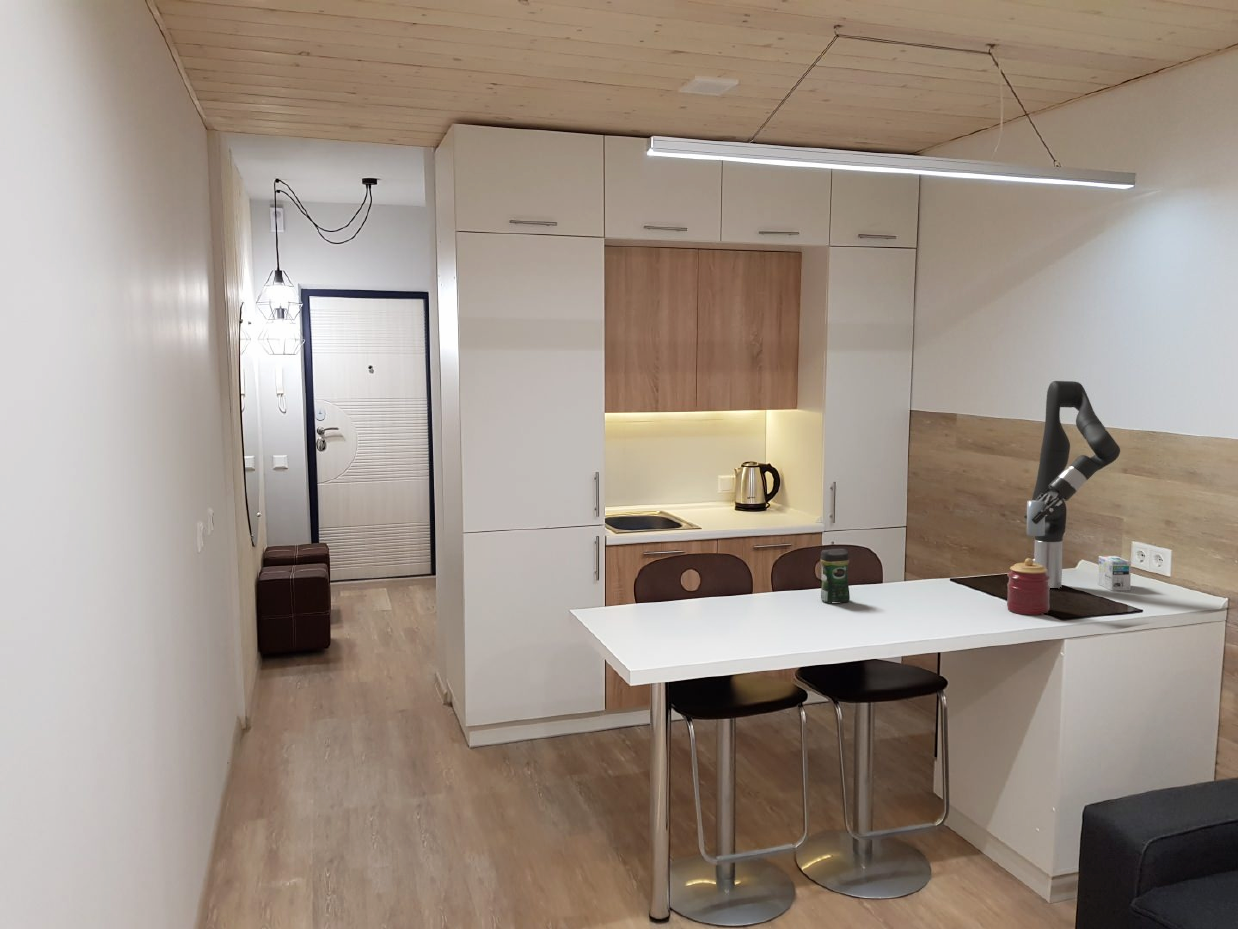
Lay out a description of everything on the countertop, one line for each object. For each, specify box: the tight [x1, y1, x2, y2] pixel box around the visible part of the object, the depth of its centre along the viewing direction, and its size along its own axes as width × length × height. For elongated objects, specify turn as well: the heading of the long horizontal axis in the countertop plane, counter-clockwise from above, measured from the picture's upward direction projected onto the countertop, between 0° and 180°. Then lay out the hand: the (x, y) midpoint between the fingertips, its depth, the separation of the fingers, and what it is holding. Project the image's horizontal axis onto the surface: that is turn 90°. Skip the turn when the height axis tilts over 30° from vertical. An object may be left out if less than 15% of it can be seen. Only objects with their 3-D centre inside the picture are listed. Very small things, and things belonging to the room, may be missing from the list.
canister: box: [1006, 557, 1051, 616], centre depth 307 cm, size 13×13×18 cm
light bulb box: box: [1097, 555, 1132, 592], centre depth 336 cm, size 11×7×11 cm, turn 179°
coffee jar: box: [820, 548, 851, 604], centre depth 326 cm, size 10×8×19 cm
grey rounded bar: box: [1026, 499, 1045, 537], centre depth 305 cm, size 5×5×11 cm
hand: (1030, 520), depth 305 cm, fingers closed on grey rounded bar, 5 cm apart
